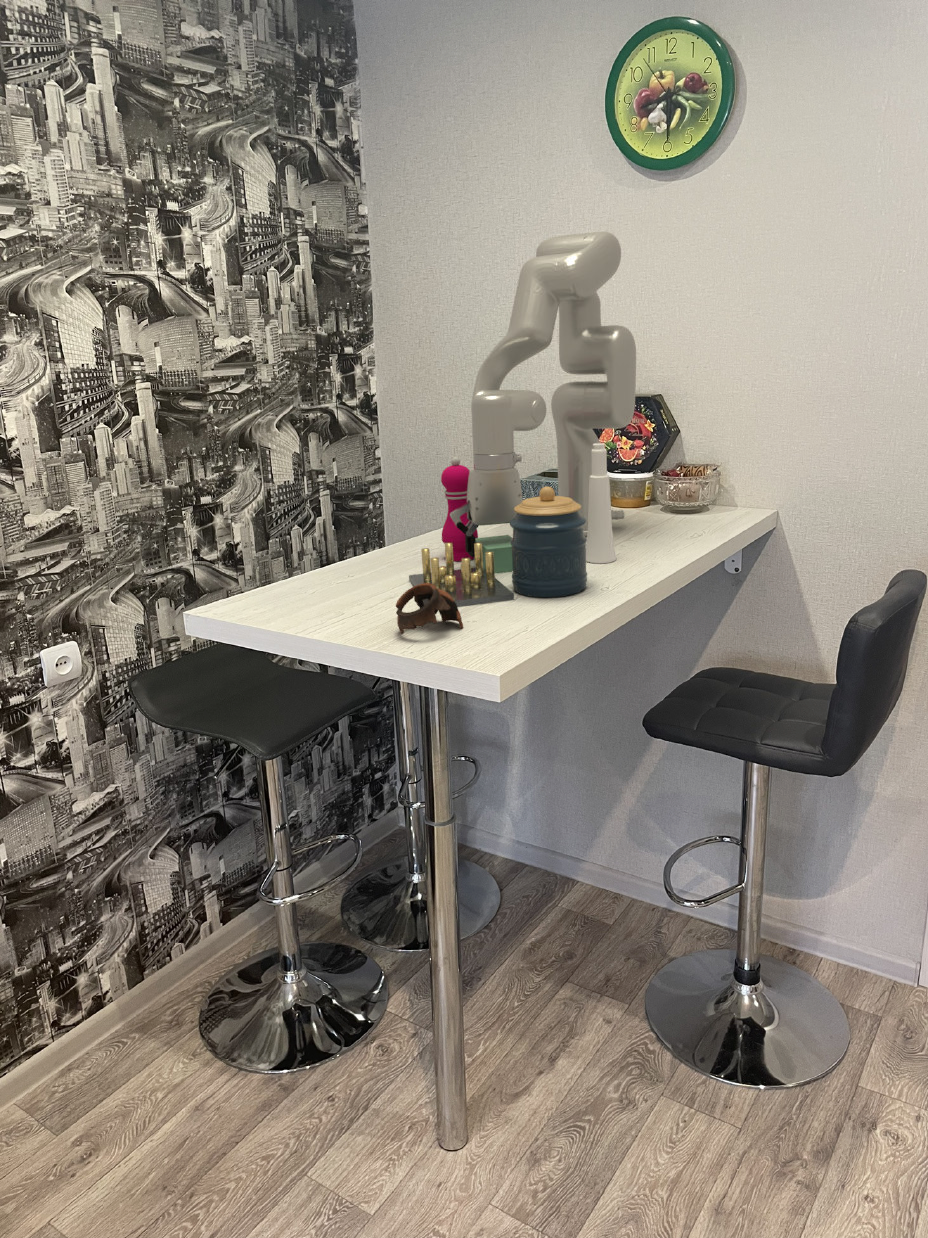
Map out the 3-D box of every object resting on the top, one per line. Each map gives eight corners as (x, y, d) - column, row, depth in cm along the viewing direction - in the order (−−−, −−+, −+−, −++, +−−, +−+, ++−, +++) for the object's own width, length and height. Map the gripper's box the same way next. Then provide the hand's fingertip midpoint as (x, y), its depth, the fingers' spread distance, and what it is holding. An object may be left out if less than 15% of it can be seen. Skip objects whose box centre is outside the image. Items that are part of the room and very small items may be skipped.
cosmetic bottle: (621, 561, 176) (620, 444, 170) (591, 565, 175) (589, 446, 168) (608, 554, 182) (607, 440, 175) (579, 558, 181) (577, 443, 174)
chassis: (482, 572, 174) (481, 535, 172) (514, 599, 156) (512, 558, 154) (409, 580, 171) (406, 543, 169) (432, 609, 153) (429, 568, 151)
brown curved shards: (473, 636, 140) (449, 597, 135) (419, 667, 141) (392, 629, 136) (456, 597, 150) (432, 559, 145) (405, 626, 151) (380, 589, 146)
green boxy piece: (508, 559, 184) (507, 534, 182) (524, 571, 174) (523, 545, 173) (474, 563, 182) (473, 538, 181) (488, 575, 173) (487, 549, 171)
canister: (541, 603, 153) (538, 496, 148) (497, 587, 164) (493, 487, 158) (603, 588, 159) (602, 485, 154) (556, 574, 170) (554, 477, 165)
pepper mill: (475, 562, 182) (469, 459, 176) (439, 562, 184) (432, 460, 178) (482, 553, 189) (477, 453, 183) (447, 553, 190) (441, 454, 184)
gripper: (532, 457, 177) (534, 545, 182) (443, 463, 174) (448, 553, 178) (545, 461, 170) (546, 553, 175) (452, 468, 167) (457, 561, 171)
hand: (496, 553), depth 177 cm, fingers open, 9 cm apart
